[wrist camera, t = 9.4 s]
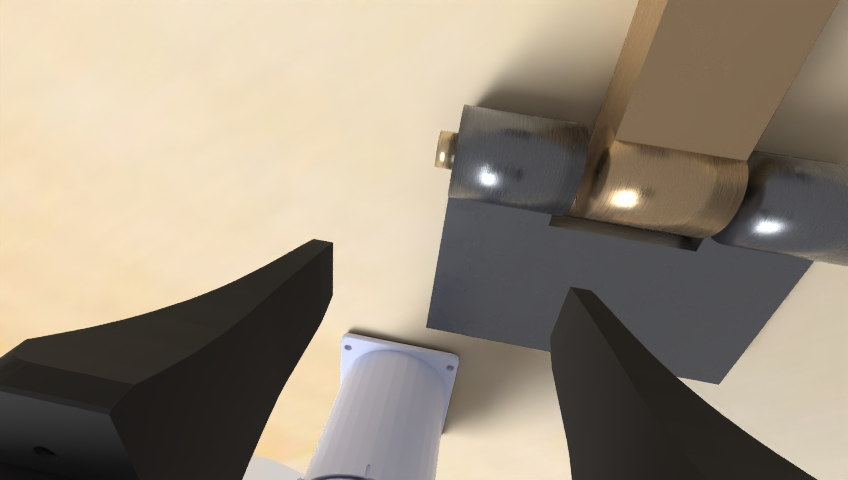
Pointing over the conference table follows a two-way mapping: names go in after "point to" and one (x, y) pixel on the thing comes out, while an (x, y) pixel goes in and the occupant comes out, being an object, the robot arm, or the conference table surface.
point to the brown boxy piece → (692, 109)
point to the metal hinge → (619, 247)
